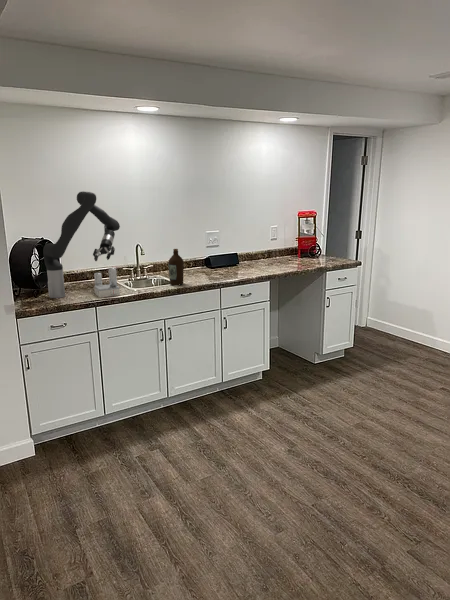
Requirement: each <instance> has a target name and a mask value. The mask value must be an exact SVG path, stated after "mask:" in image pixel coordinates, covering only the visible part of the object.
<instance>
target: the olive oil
mask: <svg viewBox="0 0 450 600" xmlns="http://www.w3.org/2000/svg"><path fill="white" fill-rule="evenodd" d="M167 263H168V264H167V265H168V273H169V285H170V286H173V285H179V284H183V285H184V270H185V269H184V266H185V265H184V264H185V263H184V259H183V258H182V257H181V256H180V254H179V249H178V248H173V254H172V255H171V256H170V258H169V260H168V262H167ZM179 286H180V285H179Z"/></svg>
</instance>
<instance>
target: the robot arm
mask: <svg viewBox="0 0 450 600" xmlns="http://www.w3.org/2000/svg"><path fill="white" fill-rule="evenodd" d="M76 200H77V203H78V204H79V207H78V208H76V209H75V210H73V211H72V212H71V213H69V214H68V215H67V216H66V218H65V219H64V221H63V223H62V224H61V231H60V236H59V238H58V240H57V241H56V242H55V243H46V244H45V245H44V247H43V251H42V252H43V253H42V254H43V260H44V265H45V267H46V272H47V289H48V297H49V298H50V299H58V298H64V297H66V292H65V290H66V289H65V278H64V267H63V264H62V263H61V262H60V261H59V259H61V258H63V256H64V255H65V252H66V250H67V249H68V247H69V244H70V242H71V240H72V239H73V237H74V235H75V234H76V232H77V231H78V229H80V228H79V227H80V226H81V224H82V222H83V221H84V220H85V218H86V216H87V215H88V214H89V213H91V214H92V215H93V216H94V217H95V218H96V219H97V220H99V222H101V224H102V225H103V226H104V227H103V230H104V233H103V235H102V239H101V240H100V245H99V247H98V248H94V251H93V253H92V256H93V257H94V261H95V262H98V259H99V257H101V256H102V255H106V257H105V258H106V259H107V261H109V260H110V258H111V256H114V255H115V252H116V251H115V250H116V248H115V247H114V245H113V243H114V239H115V232H116V231H118V230H120V228H121V226H120V222H118V220H117V219H115V218H113V217H111V216H109V214H108V213H107V211H105V210H104V209H102V208H101V207H99V206H98V205H96V202H97V194H96V193H94V192H91V191H84V190H83V191H79V192H78V193H77V194H76Z"/></svg>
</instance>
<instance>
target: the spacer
mask: <svg viewBox="0 0 450 600" xmlns="http://www.w3.org/2000/svg"><path fill="white" fill-rule="evenodd" d="M93 275H94V286H98V285H103V277H102V272H95V273H93Z"/></svg>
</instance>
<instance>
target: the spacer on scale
mask: <svg viewBox="0 0 450 600" xmlns="http://www.w3.org/2000/svg"><path fill="white" fill-rule="evenodd" d="M117 278H118V276H117V267H108V280H109V284H110V287H111V288H115V287H117V286H118V279H117Z"/></svg>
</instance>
